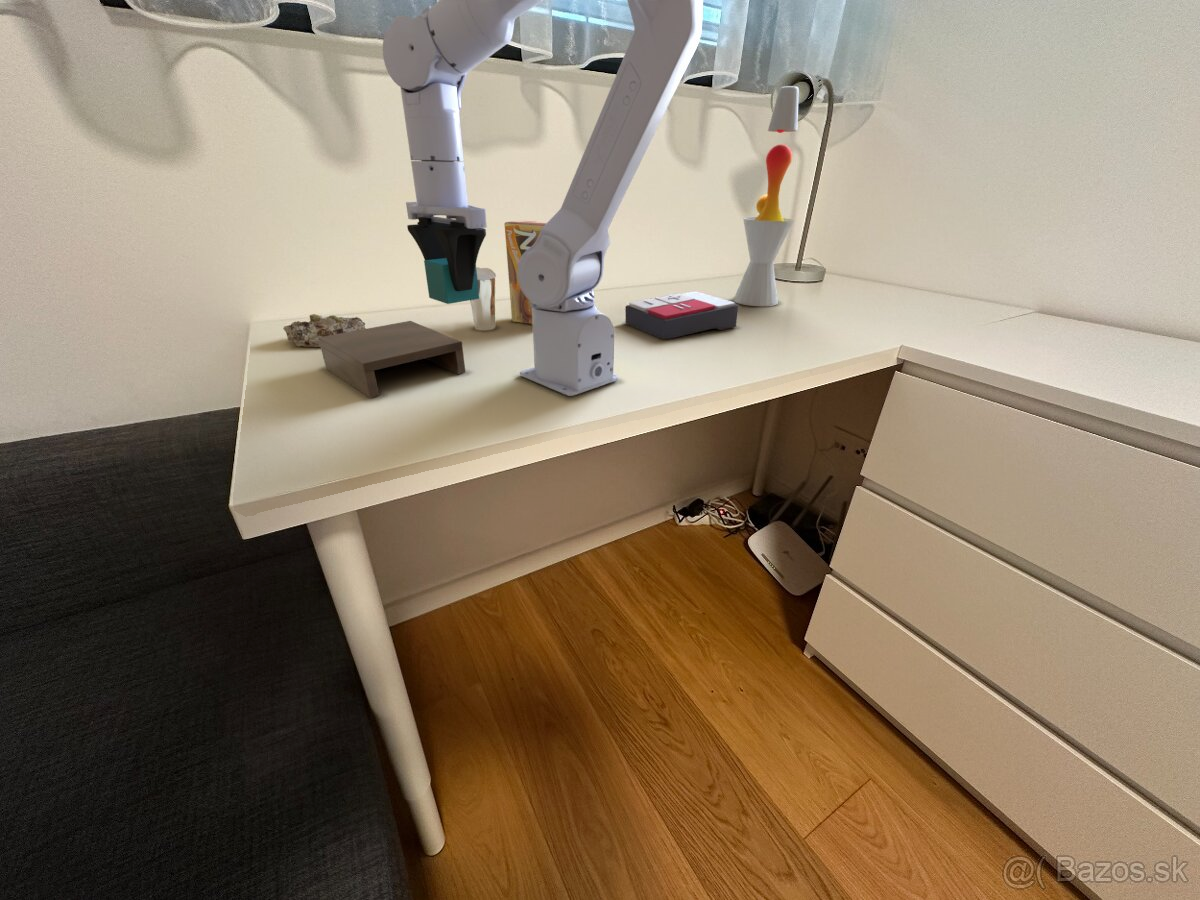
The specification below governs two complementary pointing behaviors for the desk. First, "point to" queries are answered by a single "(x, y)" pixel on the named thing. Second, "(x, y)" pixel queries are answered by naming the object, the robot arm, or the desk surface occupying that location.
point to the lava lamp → (769, 211)
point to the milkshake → (484, 300)
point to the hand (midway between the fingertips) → (452, 286)
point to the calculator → (681, 314)
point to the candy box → (517, 243)
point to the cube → (446, 283)
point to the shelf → (387, 352)
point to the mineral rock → (320, 329)
